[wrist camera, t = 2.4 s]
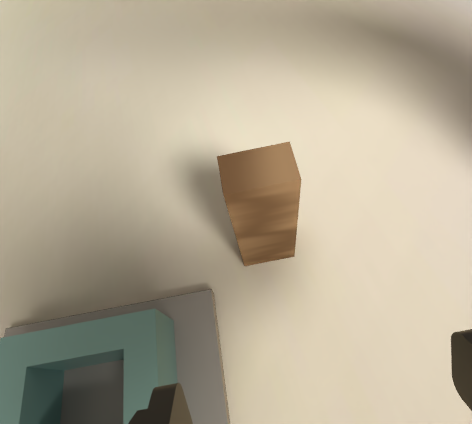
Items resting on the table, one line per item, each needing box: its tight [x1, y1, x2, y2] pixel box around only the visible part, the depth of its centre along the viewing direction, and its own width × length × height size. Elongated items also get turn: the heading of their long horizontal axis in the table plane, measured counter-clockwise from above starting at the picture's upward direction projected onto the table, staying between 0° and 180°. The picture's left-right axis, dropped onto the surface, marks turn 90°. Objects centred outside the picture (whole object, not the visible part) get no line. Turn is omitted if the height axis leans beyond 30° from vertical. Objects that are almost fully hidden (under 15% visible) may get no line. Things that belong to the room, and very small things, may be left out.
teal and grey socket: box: [0, 289, 230, 424], centre depth 21 cm, size 16×12×5 cm
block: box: [217, 142, 301, 266], centre depth 22 cm, size 4×2×11 cm, turn 99°
